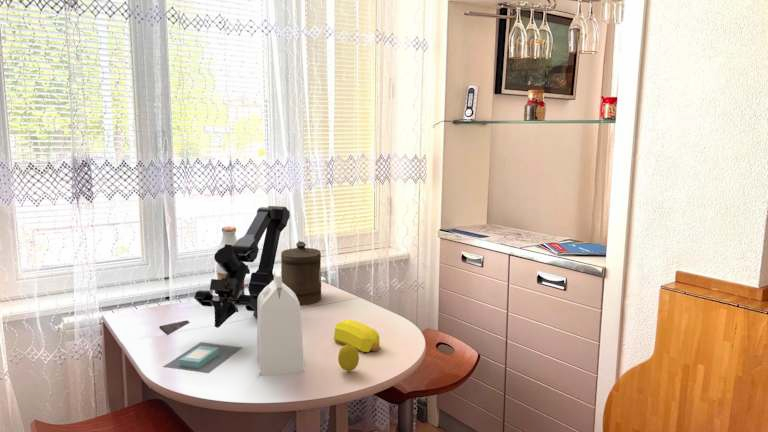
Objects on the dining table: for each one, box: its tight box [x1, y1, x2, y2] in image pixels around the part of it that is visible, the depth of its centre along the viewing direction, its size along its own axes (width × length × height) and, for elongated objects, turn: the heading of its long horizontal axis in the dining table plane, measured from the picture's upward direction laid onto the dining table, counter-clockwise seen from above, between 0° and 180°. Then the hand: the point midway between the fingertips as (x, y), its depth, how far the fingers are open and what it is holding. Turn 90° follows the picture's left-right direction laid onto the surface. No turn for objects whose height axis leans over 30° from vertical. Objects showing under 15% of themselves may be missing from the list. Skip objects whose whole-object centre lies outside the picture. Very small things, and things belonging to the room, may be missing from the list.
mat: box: [162, 342, 243, 374], centre depth 165 cm, size 18×14×1 cm
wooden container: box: [280, 241, 322, 306], centre depth 217 cm, size 15×15×22 cm
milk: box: [256, 270, 305, 377], centre depth 159 cm, size 12×12×26 cm
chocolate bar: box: [159, 319, 191, 336], centre depth 184 cm, size 9×1×18 cm
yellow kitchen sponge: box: [333, 318, 381, 353], centre depth 175 cm, size 18×7×8 cm
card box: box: [179, 346, 219, 368], centre depth 162 cm, size 2×6×10 cm
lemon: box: [337, 344, 360, 373], centre depth 156 cm, size 6×6×8 cm
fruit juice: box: [216, 226, 246, 298], centre depth 212 cm, size 9×9×28 cm
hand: (216, 327), depth 170 cm, fingers closed
